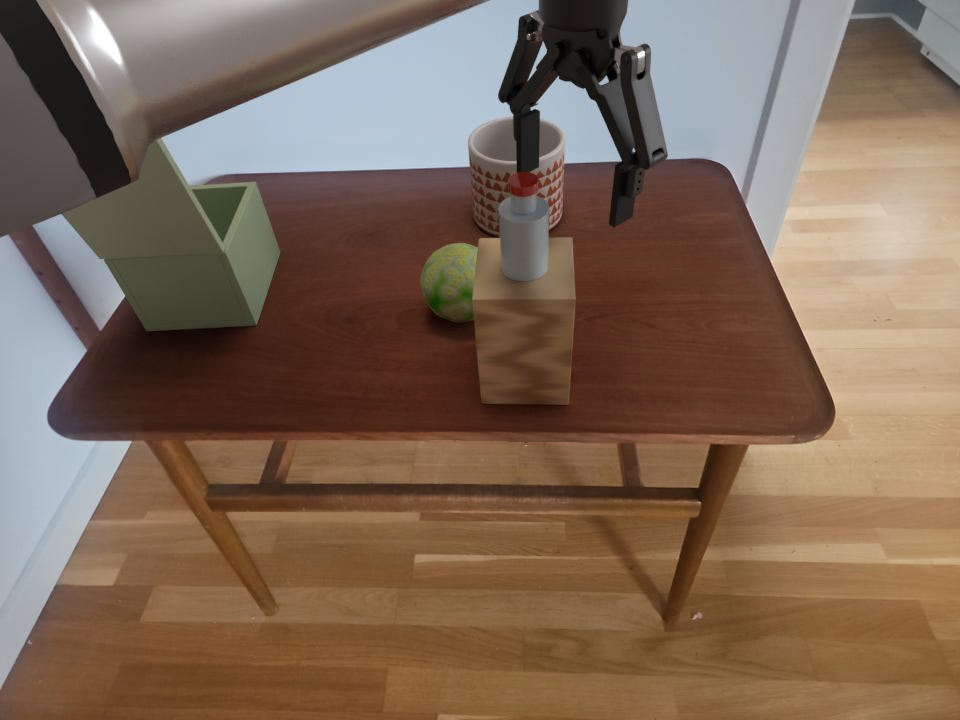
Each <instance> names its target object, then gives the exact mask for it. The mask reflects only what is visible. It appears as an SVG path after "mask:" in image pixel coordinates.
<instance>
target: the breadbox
mask: <svg viewBox="0 0 960 720" xmlns="http://www.w3.org/2000/svg"><path fill="white" fill-rule="evenodd" d="M189 186H190V188H191V190H192V191H193V193H194V195H195V196H196V198H197V200H198V202H199V203H200V205H201V207H202V208H203V210H204V212H205V213H206V215H207V217H208V219H209V220H210V222H211V224H212V225H213V227H214V229H215V230H216V232H217V234H218V236H219V237H220V239H221V241H222V242H223V244H224V246H225V247H224V251H223V252H218V253H201V254H183V255H166V256H148V257H131V258H113V259H103V262H104V263H105V265H106V267H107V268H108V270H109V271H110V273H111V275H112V277H113V278H114V279H115V281H116V283H117V284H118V286H119V288H120V290H121V291H122V293H123V294H124V296H125V298H126V300H127V301H128V303H129V305H130V307H131V308H132V310H133V311H134V313H135V315H136V316H137V318H138V319H139V321H140V323H141V325H142V326H143V328H144V330H145V331H146V332H159V331H160V332H161V331H178V330H179V331H180V330H199V329H215V328H216V329H217V328H233V327H234V328H235V327H237V328H238V327H254V326H258V323H259V320H260V317H261V313H262V312H263V311H262V310H263V308H264V305H265V302H266V298H267V295H268V292H269V290H270V286H271V283H272V280H273V277H274V274H275V270H276V268H277V264H278V261H279V258H280V255H281V249H280V246H279V244H278V241H277V239H276V235H275V233H274V232H275V231H274V230H273V227H272V224H271V221H270V218H269V215H268V213H267V209H266V207H265V204H264V201H263V198H262V195H261V193H260V189H259V186H258V184H257V182H256V181H246V182H231V183H229V182H228V183H212V184H195V185H189Z"/></svg>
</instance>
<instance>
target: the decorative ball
mask: <svg viewBox="0 0 960 720" xmlns="http://www.w3.org/2000/svg"><path fill="white" fill-rule="evenodd" d="M477 251H478V246H474V245H473V244H470V243H466V242H458V243H455V242H454V243H449V244H446V245H444V246H442V247H440V248H438V249H436V250H435V251H433V253H431V255H430V256H429V257H428V258H427V260H426V261H425V264H424V267H423V268H422V270H421V275H420V280H419V281H420V289H421V293H422V296H423V298H424V300H425V302H426V305H427V306H428V308H429V309H431V311H432V313H434V314H435V315H436V316H438V317H440V318H442V319H446V320H448V321H450V322H453V323H464V322H465V323H466V322H472V321H474V315H473V304H472V296H473V287H474V278H475V269H476V260H477Z"/></svg>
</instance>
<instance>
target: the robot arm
mask: <svg viewBox="0 0 960 720" xmlns="http://www.w3.org/2000/svg"><path fill="white" fill-rule="evenodd" d="M489 1H490V2H491V0H0V239H1V238H4V237H5V236H8V235H11V234H13V233H16V232H19V231H21V230H24V229H27V228H29V227H32V226H34V225H37V224H39V223H43V222H46V221H47V220H50V219H52V218H55V217H57V216H60V215H62V213H65V212H67V211H70V210H72V209H75V208H77V207H79V206H81V205H83V204H86V203H88V202H90V201H92V200H94V199H96V198H99V197H101V196H103V195H105V194H108V193H110V192H112V191H115V190H117V189H119V188H121V187H124V186H126V185H128V184H131V183H133V182H135V181H137V180H138V179H139V176H140V172H141V169H142V166H143V163H144V160H145V157H146V153H147V150H148V147H149V146H150V145H151V144H152V143H154V142H155V141H156V140H157V139H159V138H161V139H162V138H164V137H167V136H169V135H171V134H173V133H176V132H178V131H181V130H184V129H185V128H189V127H191V126H193V125H196V124H197V123H200V122H203V121H205V120H207V119H209V118H212V117H214V116H217V115H219V114H222V113H224V112H227V111H229V110H231V109H233V108H236V107H238V106H240V105H243V104H245V103H246V104H247V103H248V102H250V101H252V100H253V101H254V100H255V99H257V98H260V97H262V96H264V95H267V94H270V93H272V92H275V91H276V90H279V89H281V88H284V87H286V86H289V85H291V84H294V83H296V82H298V81H301V80H303V79H305V78H307V77H310V76H313V75H315V74H317V73H321V72H322V71H324V70H326V69H330V68H331V67H334V66H337V65H339V64H341V63H344V62H346V61H349V60H351V59H353V58H355V57H358V56H361V55H362V54H365V53H367V52H370V51H373V50H375V49H377V48H379V47H382V46H385V45H387V44H389V43H391V42H394V41H396V40H398V39H401V38H404V37H406V36H408V35H410V34H413V33H415V32H417V31H420V30H422V29H425V28H428V27H429V26H430V27H431V26H432V25H434V24H437V23H440V22H442V21H444V20H447V19H449V18H451V17H454V16H456V15H458V14H461V13H463V12H466V11H468V10H471V9H472V8H475V7H478V6H480V5H482V4H485V3H487V2H489ZM628 7H629V0H538V9H537V10H534V11H532V12H529V13H527V14H524V15H521V16H519V17H518V23H517V24H518V25H517V38H516V42H515V45H514V47H513V50H512V53H511V55H510V59H509V62H508V63H507V66H506V67H507V68H506V70H505V73H504V76H503V78H502V81H501V84H500V86H499V87H500V88H499V90H498V93H497V97H498V100H499V102H500V103H501V104H505V103H506V104H507V105H508V106H509V111H510V113H511V114H512V117H513V126H514V127H513V130H514V131H513V135H514V139H515V141H516V160H517V173H518V172H531V171H533V170H535V169H537V168H539V141H540V119H541V110H539V109H537V108H534V107H536V106H538V105H539V100H540V99H541V98H542V97H543V95H544V94H545V93H546V92H547V91H548V89H549V88H550V87H551V86H552V85H553V83H554V82H555V81H556V80H557V78H558V80H560V81H562V82H568V83H571V84H573V85H574V86H575V87H577V88H579V89H582V90H585V92H586V93H587V95H588V98H589V99H590V100H592V101H594V102H595V103H596V106H597V108H598V109H599V112H600V115H601V117H602V119H603V121H604V124H605V125H606V129H607V131H608V133H609V135H610V138H611V139H612V142H613V144H614V146H615V148H616V152H617V153H618V156H619V158H620V160H621V161H620V162H618V163H616V164H615V165H614V173H613V181H612V191H611V199H610V209H609V218H608V225H609V226H610V227H612V228H616V227H618V226H620V225H621V224H623V223H625V222H627V221H628V220H631V219H632V218H633V217H634V210H635V203H636V196H639V195H640V194H641V193H642V191H643V189H644V183H645V181H644V180H645V177H646V176H645V175H646V171H647V170H649V169H651V168H653V167H655V166H657V165H659V164H660V163H662V162H664V161H666V160H667V159H668V156H669V153H668V148H667V143H666V139H665V135H664V131H663V126H662V125H663V124H662V121H661V116H660V111H659V107H658V103H657V98H656V94H655V89H654V84H653V80H652V75H651V64H652V48H651V46H650V45H649V44H648V43H642V44H640V45H638V46H637V45H636V46H631V45H625V44H623V41H622V37H621V29H622V25H623V23H624V21H625V19H626V16H627V13H628ZM543 44H544V47H545V49H546V53H545V54H544V55H543V57H542V58H541V59H540V61H539V62H538V63H537V65H536V66H535V63H536V60H537V58H538V56H539V53H540V51H541V48H542V46H543ZM534 66H535V69H536V70H535V71H534V73H532V70H533V68H534ZM531 73H532V75H531ZM605 78H607V80H608V82H605V83H603V84H600V83H601V82H603V80H604V79H605ZM532 108H534V109H532Z"/></svg>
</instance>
